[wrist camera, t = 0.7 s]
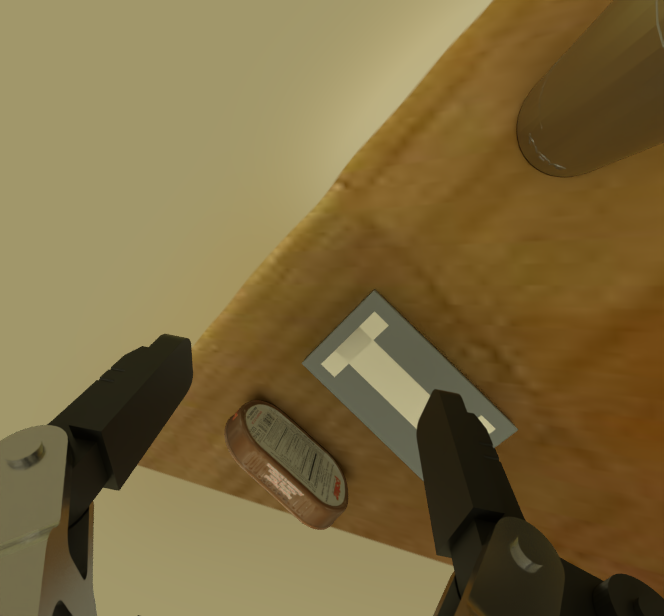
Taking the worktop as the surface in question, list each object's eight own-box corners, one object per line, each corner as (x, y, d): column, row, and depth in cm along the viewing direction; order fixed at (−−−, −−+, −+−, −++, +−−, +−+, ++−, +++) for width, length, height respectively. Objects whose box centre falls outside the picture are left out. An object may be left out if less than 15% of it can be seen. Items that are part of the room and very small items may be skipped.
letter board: (374, 288, 32) (374, 290, 30) (511, 422, 32) (518, 430, 30) (304, 358, 34) (301, 363, 33) (432, 482, 34) (435, 492, 33)
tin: (244, 402, 36) (205, 444, 28) (260, 384, 36) (224, 422, 27) (338, 486, 36) (327, 553, 28) (356, 470, 36) (349, 534, 27)
